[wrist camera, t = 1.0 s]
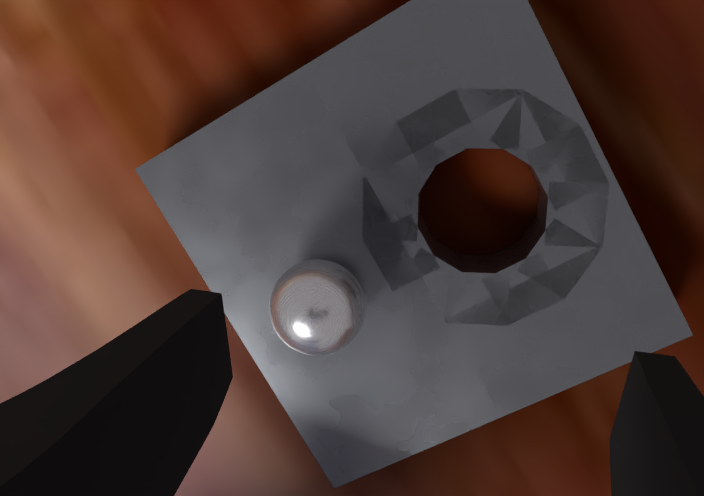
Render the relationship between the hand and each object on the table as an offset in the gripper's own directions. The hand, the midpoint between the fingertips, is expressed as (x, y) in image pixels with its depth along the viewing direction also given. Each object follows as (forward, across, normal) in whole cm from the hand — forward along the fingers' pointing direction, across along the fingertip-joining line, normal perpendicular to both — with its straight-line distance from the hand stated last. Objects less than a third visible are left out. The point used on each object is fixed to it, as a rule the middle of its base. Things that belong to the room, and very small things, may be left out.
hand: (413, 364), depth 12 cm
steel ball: (+9, +5, +6) cm, 12 cm away
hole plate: (+14, +2, +6) cm, 15 cm away
